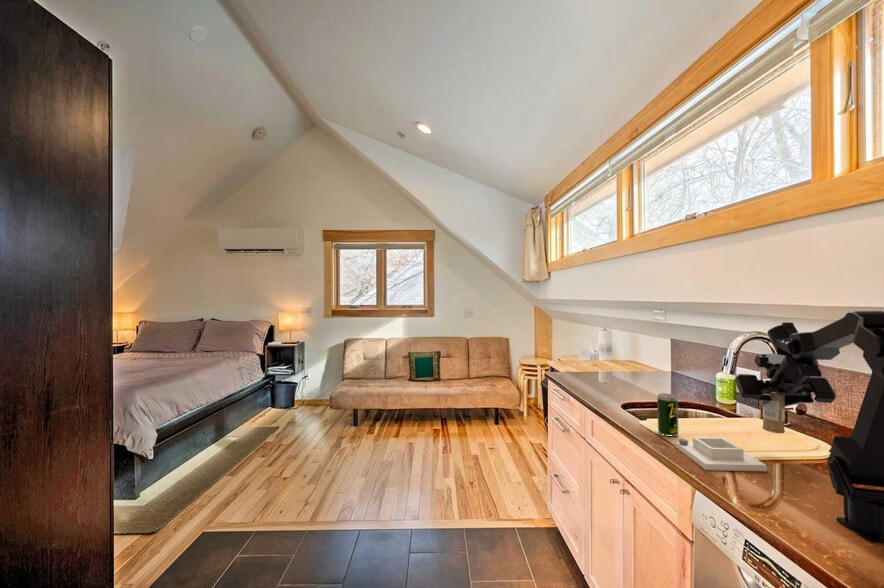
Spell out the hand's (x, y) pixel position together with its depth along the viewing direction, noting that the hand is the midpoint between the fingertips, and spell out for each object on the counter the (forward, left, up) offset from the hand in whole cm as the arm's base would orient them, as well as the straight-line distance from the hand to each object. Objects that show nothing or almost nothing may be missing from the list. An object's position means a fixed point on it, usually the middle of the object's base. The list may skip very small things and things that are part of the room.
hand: (771, 404), depth 100 cm
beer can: (+14, +20, -13) cm, 28 cm away
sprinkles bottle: (-1, +1, -7) cm, 7 cm away
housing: (-3, +16, -13) cm, 21 cm away
